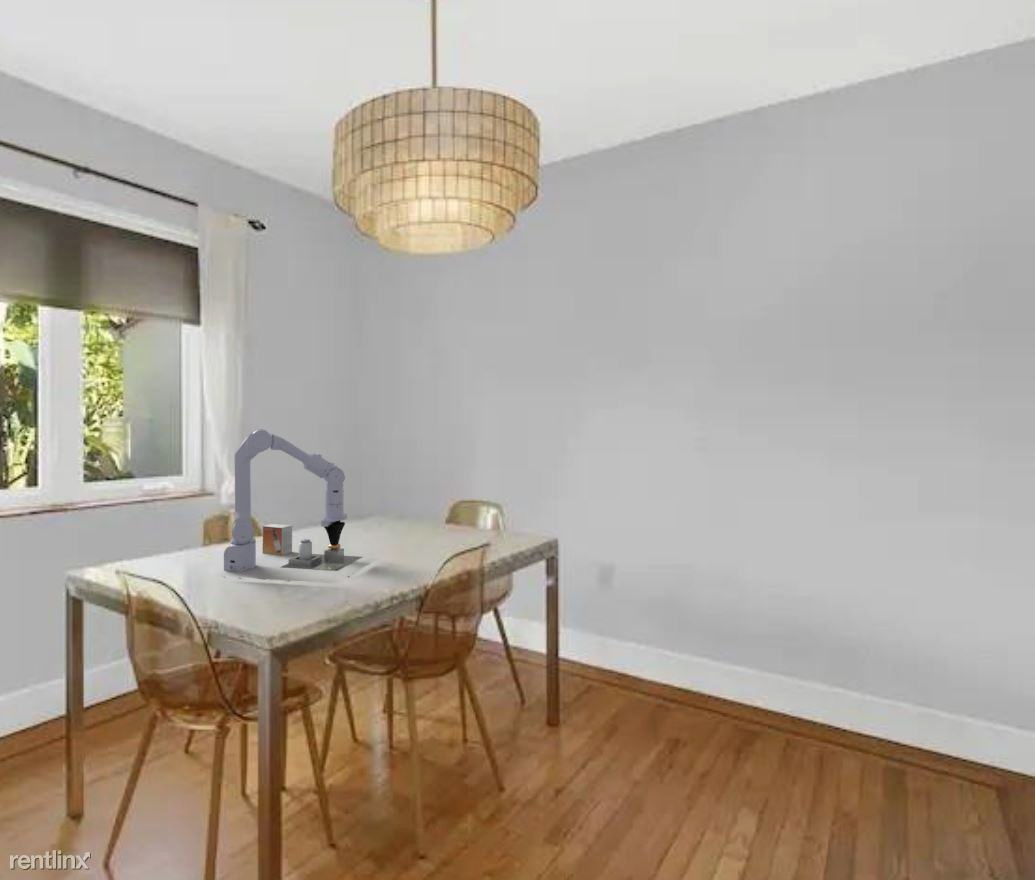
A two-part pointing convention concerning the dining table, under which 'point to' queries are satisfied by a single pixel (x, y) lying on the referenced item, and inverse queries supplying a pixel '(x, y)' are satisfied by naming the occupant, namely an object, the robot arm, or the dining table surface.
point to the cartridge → (305, 549)
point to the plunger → (333, 547)
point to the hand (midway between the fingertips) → (334, 544)
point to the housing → (323, 561)
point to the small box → (277, 539)
